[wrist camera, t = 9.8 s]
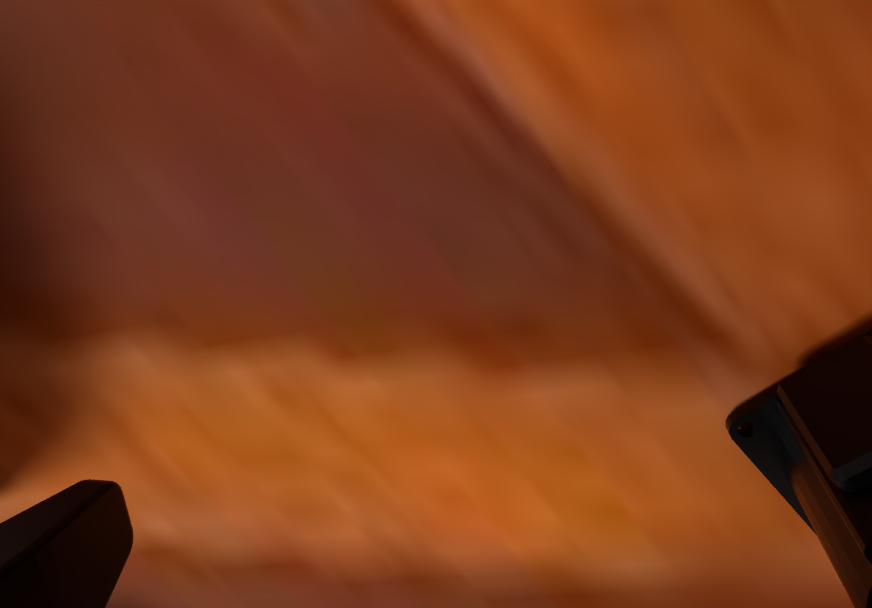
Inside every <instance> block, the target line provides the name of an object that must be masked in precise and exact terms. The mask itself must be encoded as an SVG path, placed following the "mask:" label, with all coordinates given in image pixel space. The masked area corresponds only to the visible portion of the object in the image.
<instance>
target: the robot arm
mask: <svg viewBox="0 0 872 608" xmlns="http://www.w3.org/2000/svg"><path fill="white" fill-rule="evenodd" d="M744 423H752V424H751V426H750V427H749V428H747V429H738V428H739V427H740V426H741V425H742V424H744ZM726 428H727V430H728V432H729V434H730V436H731V438H732V440H733V441H734V442H735V443H736V444H737V445H738V446H739V447H740V449H741V450H742V451H743V452H744V453H745V454H746V455H747V457H748V458H749V459H750V460H751V461H752V462H753V463H754V464H755V466H756V467H757V468H758V469H759V470H760V471H761V472H762V474H763V475H764V476H765V477H766V478H767V479H768V480H769V481H770V483H771V484H772V485H773V486H774V487H775V488H776V489H777V491H778V492H779V493H780V494H781V495H782V496H783V497H784V498H785V500H786V501H787V502H788V503H789V504H790V505H791V506H792V508H793V509H794V510H795V511H796V512H797V513H798V514H799V515H800V517H801V518H802V519H803V520H804V521H805V522H806V523H807V525H808V526H809V527H810V528H811V529H812V530H813V531H814V532H815V534H816V535H817V536H818V538H819V540H820V542H821V544H822V546H823V548H824V550H825V551H826V553H827V555H828V557H829V559H830V561H831V563H832V565H833V567H834V569H835V570H836V572H837V574H838V576H839V578H840V580H841V582H842V584H843V586H844V588H845V589H846V591H847V593H848V595H849V597H850V599H851V601H852V603H853V605H854V607H855V608H872V330H871V331H869V332H867V333H866V334H864V335H862V336H858V337H856V338H855V339H853V340H851V341H850V342H848V343H846V344H844V345H843V346H841V347H839V348H838V349H836V350H834V351H833V352H831V353H829V354H827V355H826V356H824V357H822V358H821V359H819V360H817V361H816V362H814V363H812V364H810V365H809V366H807V367H805V368H804V369H802V370H800V371H799V372H797V373H795V374H793V375H792V376H790V377H788V378H787V379H785V380H783V381H782V382H781V383H780V384H779V385H777V386H776V387H774V388H772V389H770V390H769V391H767V392H765V393H764V394H762V395H760V396H759V397H757V398H755V399H753V400H752V401H750V402H748V403H747V404H745V405H743V406H742V407H740V408H738V409H736V410H735V411H733V412H732V413H731V414H730V415H728V417H727V419H726ZM132 544H133V528H132V525H131V521H130V517H129V514H128V510H127V506H126V502H125V499H124V495H123V491H122V489H121V487H120V486H119V485H118V484H117V483H116V482H113V481H105V480H91V479H89V480H83V481H80V482H78V483H76V484H74V485H72V486H70V487H68V488H66V489H65V490H63V491H61V492H59V493H57V494H55V495H53V496H51V497H49V498H48V499H46V500H44V501H42V502H40V503H38V504H36V505H34V506H32V507H31V508H29V509H27V510H25V511H23V512H21V513H19V514H17V515H15V516H14V517H12V518H10V519H8V520H6V521H4V522H2V523H0V608H106V606H107V603H108V601H109V599H110V597H111V594H112V592H113V590H114V588H115V585H116V583H117V581H118V579H119V576H120V574H121V572H122V570H123V568H124V565H125V563H126V561H127V559H128V556H129V554H130V551H131V548H132Z"/></svg>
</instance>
